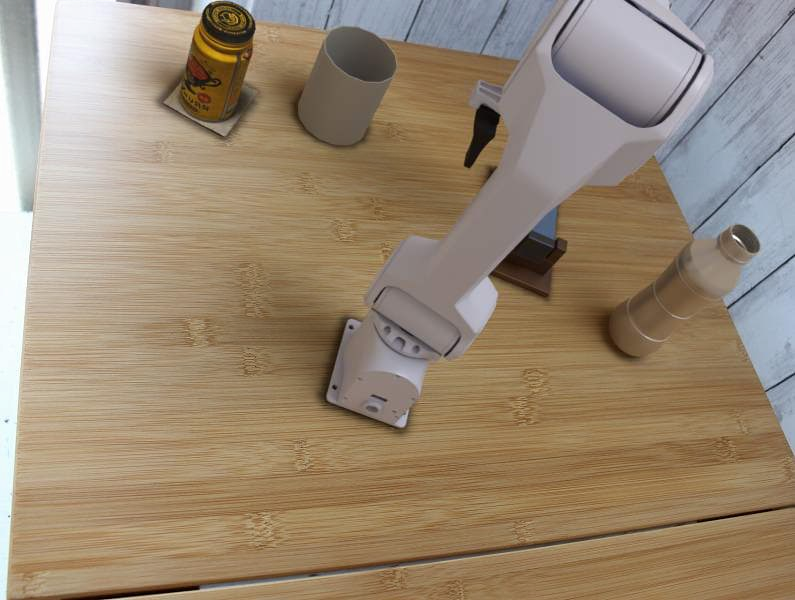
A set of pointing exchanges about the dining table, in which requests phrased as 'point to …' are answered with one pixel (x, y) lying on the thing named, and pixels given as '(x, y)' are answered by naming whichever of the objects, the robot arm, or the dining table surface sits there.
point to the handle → (539, 239)
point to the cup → (346, 85)
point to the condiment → (217, 68)
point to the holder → (530, 268)
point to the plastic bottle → (682, 290)
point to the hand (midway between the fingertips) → (500, 175)
